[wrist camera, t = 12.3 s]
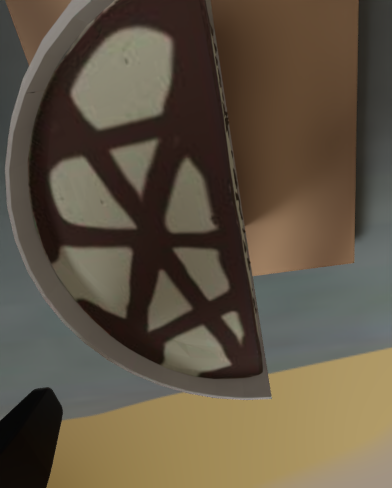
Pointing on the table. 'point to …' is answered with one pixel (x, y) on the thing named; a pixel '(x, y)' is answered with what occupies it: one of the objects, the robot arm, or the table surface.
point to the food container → (137, 195)
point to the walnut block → (277, 120)
